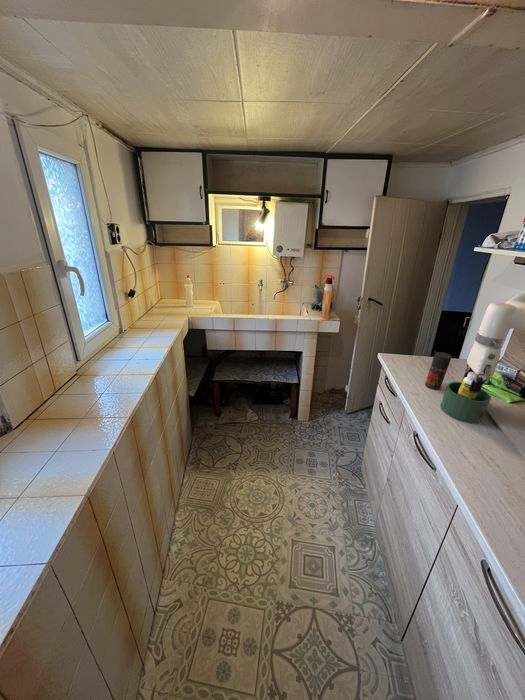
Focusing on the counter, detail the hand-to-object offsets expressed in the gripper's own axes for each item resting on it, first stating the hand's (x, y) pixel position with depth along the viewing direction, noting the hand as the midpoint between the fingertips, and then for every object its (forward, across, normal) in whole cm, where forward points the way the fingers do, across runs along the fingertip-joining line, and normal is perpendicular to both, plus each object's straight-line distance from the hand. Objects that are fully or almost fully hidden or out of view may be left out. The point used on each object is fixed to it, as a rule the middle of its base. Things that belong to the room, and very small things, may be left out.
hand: (470, 386), depth 101 cm
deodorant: (+11, +17, +5) cm, 21 cm away
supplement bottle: (+5, 0, 0) cm, 5 cm away
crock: (+11, 0, 0) cm, 11 cm away
